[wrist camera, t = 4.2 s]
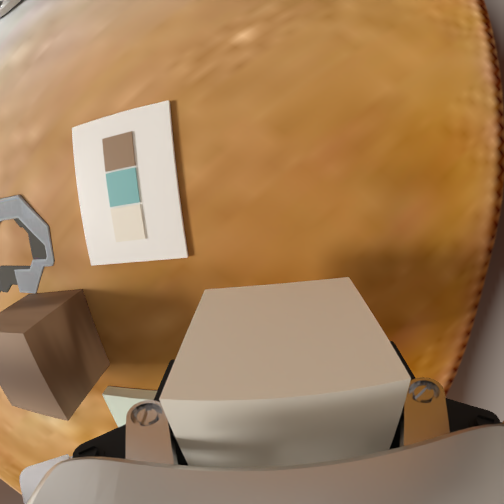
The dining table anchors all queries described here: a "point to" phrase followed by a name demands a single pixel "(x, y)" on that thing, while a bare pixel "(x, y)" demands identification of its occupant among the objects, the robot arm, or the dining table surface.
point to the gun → (39, 242)
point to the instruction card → (129, 186)
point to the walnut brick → (50, 353)
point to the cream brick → (284, 377)
